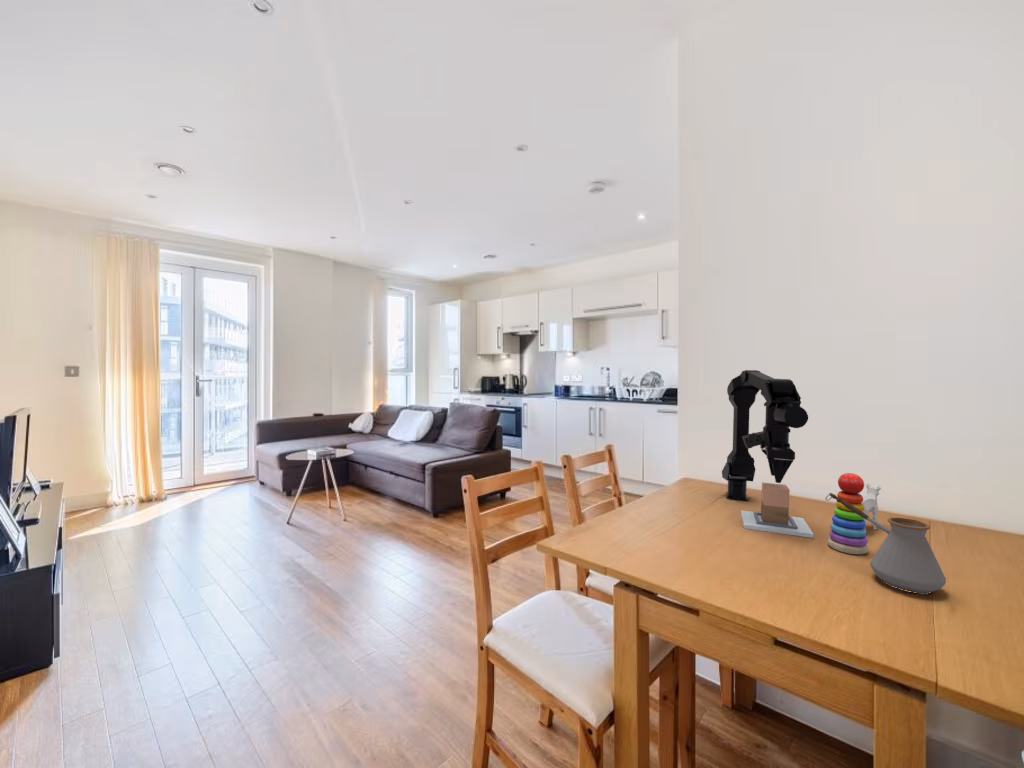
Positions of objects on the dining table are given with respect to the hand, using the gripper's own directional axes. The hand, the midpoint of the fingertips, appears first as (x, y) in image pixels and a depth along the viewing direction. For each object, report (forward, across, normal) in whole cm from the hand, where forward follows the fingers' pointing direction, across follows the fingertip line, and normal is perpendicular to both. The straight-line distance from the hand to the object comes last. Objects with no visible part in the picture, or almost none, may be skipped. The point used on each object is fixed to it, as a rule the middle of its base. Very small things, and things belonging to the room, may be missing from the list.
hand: (775, 479), depth 123 cm
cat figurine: (+13, -5, +21) cm, 25 cm away
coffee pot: (+13, +26, +16) cm, 33 cm away
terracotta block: (+7, 0, 0) cm, 7 cm away
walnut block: (+12, 0, 0) cm, 12 cm away
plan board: (+13, 0, 0) cm, 13 cm away
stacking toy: (+13, +12, +14) cm, 23 cm away
